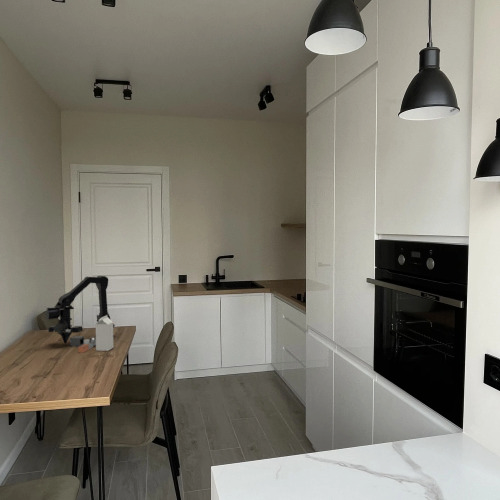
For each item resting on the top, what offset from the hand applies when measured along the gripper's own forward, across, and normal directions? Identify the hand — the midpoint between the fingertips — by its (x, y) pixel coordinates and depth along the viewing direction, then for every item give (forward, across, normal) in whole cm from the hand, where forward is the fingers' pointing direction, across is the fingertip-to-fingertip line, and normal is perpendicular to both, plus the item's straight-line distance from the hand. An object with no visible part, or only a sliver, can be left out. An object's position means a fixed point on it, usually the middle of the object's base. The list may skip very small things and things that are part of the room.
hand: (65, 343), depth 240 cm
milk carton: (+1, +28, -6) cm, 28 cm away
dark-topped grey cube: (+1, +7, 0) cm, 7 cm away
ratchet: (+1, +16, -6) cm, 17 cm away
